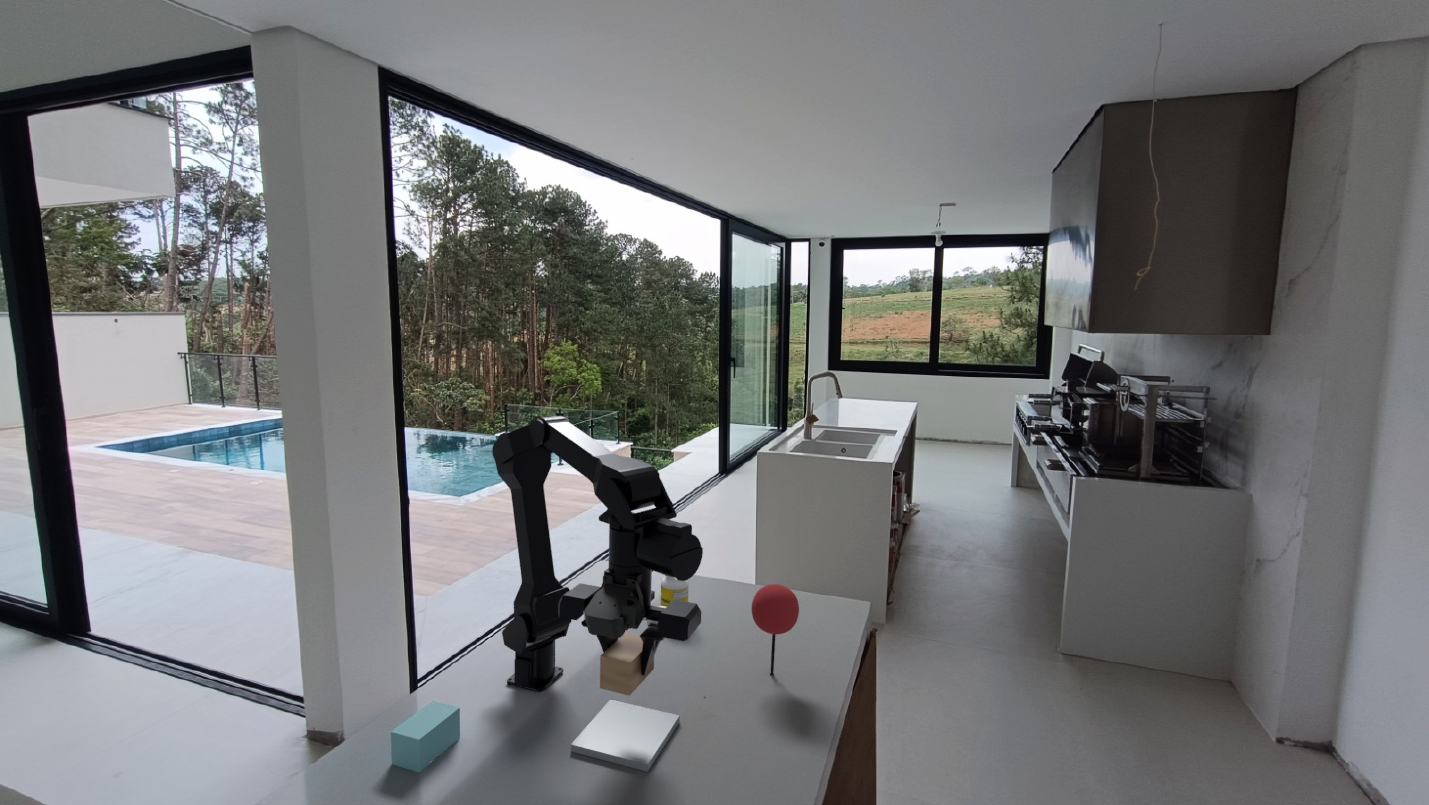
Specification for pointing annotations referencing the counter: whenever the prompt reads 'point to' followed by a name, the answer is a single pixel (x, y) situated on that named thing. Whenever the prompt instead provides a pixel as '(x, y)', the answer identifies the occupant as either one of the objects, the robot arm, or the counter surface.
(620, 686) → the walnut brick
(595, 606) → the robot arm
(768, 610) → the lollipop
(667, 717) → the base plate
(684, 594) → the supplement bottle
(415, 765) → the teal brick
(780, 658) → the counter surface
